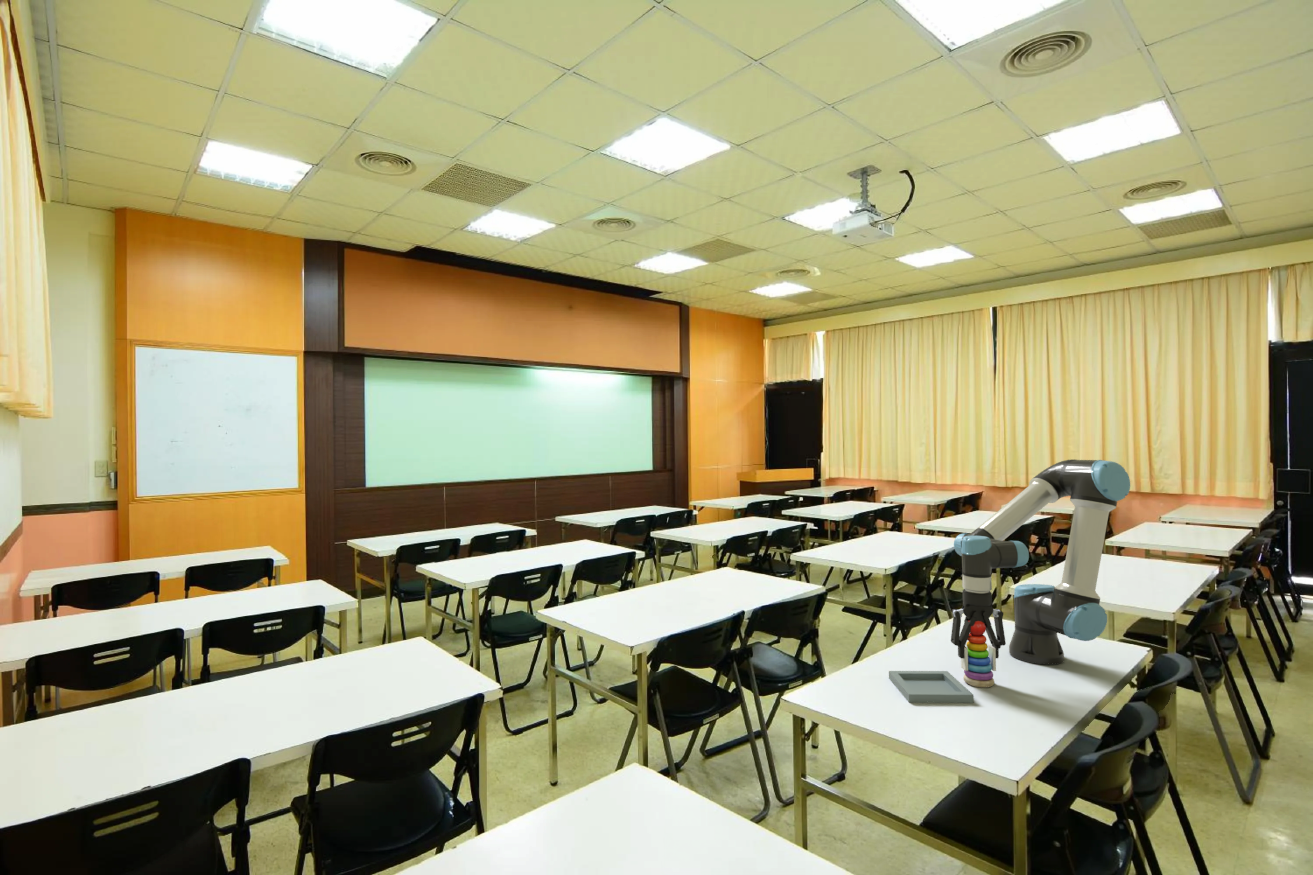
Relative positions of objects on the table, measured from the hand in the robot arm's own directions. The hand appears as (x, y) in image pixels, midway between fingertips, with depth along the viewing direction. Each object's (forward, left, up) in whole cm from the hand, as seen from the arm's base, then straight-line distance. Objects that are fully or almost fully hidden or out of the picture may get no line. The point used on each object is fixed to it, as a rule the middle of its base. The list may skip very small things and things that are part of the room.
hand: (978, 668), depth 179 cm
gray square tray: (+16, +5, -4) cm, 17 cm away
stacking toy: (0, 0, -4) cm, 4 cm away
